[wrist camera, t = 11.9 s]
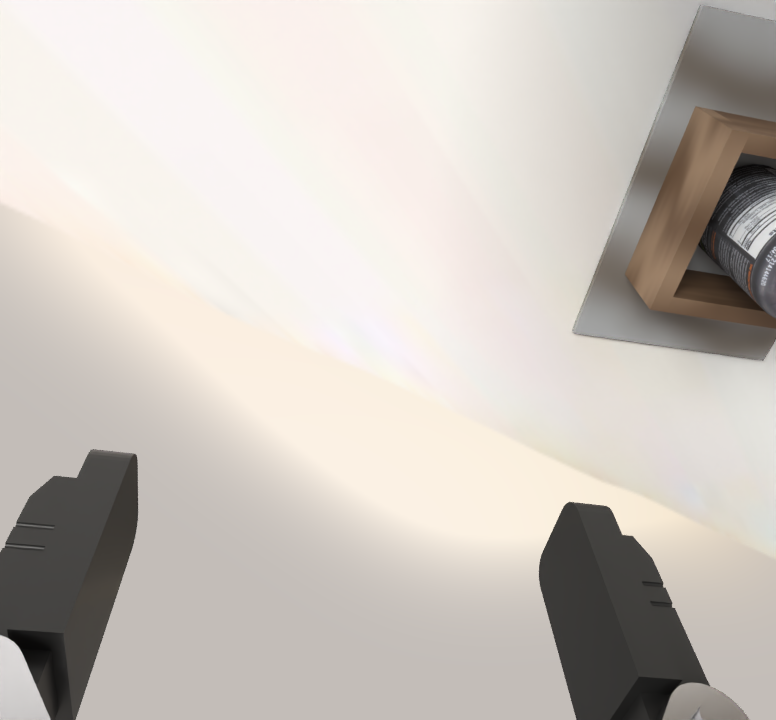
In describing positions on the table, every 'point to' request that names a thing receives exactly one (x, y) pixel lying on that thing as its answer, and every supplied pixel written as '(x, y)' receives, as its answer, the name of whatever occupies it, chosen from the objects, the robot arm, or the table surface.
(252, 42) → the table surface
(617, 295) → the well
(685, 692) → the robot arm
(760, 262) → the pill bottle
